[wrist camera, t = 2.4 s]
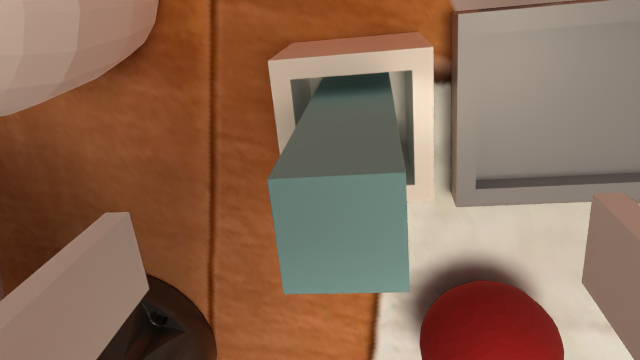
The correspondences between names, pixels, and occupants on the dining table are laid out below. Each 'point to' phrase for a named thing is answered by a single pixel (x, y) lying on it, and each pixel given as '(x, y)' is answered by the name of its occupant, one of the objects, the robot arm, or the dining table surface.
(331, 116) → the peg
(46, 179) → the dining table surface
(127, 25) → the bottle
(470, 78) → the tray
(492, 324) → the apple
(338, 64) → the white open box
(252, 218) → the dining table surface
